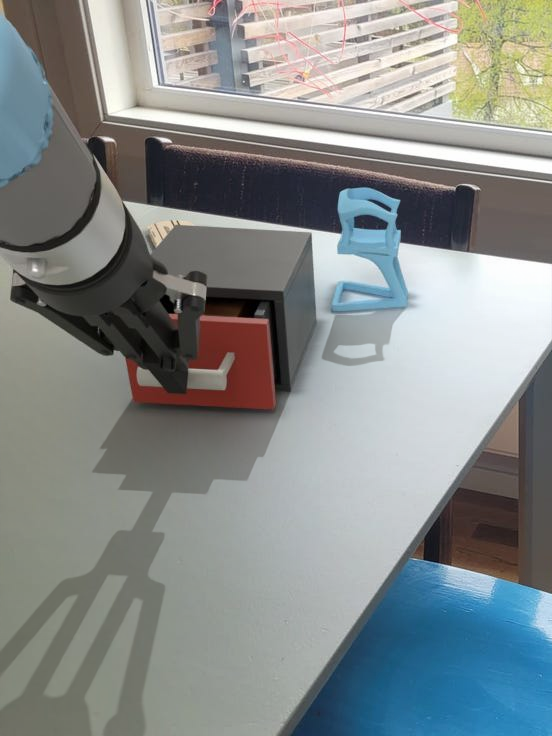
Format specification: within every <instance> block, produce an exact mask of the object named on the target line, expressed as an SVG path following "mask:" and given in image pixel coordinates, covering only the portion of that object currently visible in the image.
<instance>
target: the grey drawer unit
mask: <svg viewBox="0 0 552 736" xmlns="http://www.w3.org/2000/svg"><path fill="white" fill-rule="evenodd" d="M150 255H151V256H152V257H154V258H155V259H157V260H158V261H160V262H162V263H163V264H164V265H165V267H166V269H167V271H168V274H169V275H172V276H176V277H177V276H178V275H181V276H184V277H185V276H186V275H187V274H188V273H189V272H191V271H199V272H202V273H204V274H206V275H207V287H206V288H207V289H206V297H221V298H239V299H257V300H275V301H274V305H275V317H276V329H277V342H278V354H279V366H280V369H279V372H278V374H277V377H276V379H275V381H274V385H275V392H292V390H293V387H294V384H295V381H296V379H297V377H298V374H299V371H300V369H301V366H302V364H303V360H304V358H305V356H306V353H307V350H308V349H309V345H310V343H311V340H312V338H313V335H314V332H315V329H316V327H317V305H316V289H315V288H316V287H315V270H314V268H315V267H314V251H313V233H312V231H294V230H279V229H277V230H275V229H257V228H240V227H223V226H222V227H221V226H208V225H207V226H206V225H195V226H189V225H175V226H174V227H173V228H172V230H171V231H170V232H169V233H168V234H167V236H166V237H165V238H164V239H163V240H162V242H161V243H160V244H159V245H158V246H157V248H154V250H153V251H152V252H150Z"/></svg>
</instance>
